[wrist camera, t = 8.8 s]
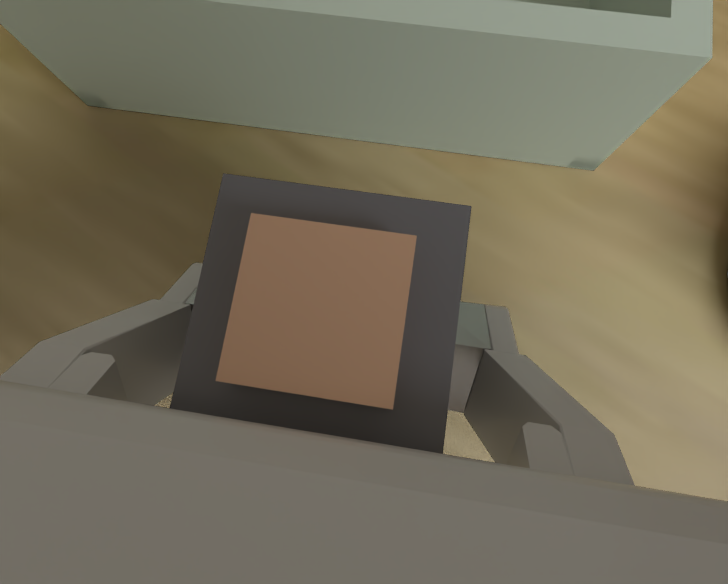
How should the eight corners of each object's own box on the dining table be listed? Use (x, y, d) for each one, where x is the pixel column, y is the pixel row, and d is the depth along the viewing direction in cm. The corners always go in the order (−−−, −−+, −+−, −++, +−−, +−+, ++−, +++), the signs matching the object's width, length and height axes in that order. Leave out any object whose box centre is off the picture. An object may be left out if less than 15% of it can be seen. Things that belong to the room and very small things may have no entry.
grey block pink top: (422, 296, 15) (479, 189, 6) (405, 419, 14) (446, 484, 6) (304, 279, 15) (209, 155, 7) (283, 399, 14) (143, 432, 6)
